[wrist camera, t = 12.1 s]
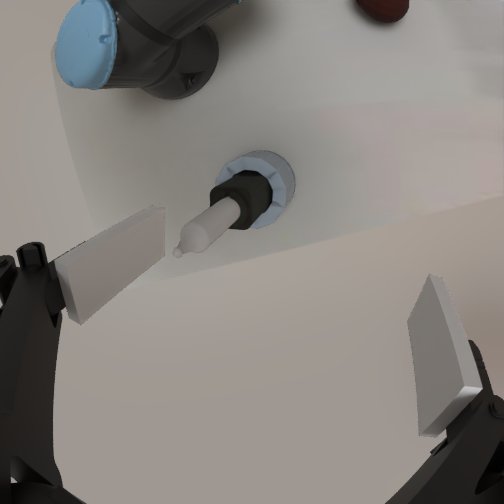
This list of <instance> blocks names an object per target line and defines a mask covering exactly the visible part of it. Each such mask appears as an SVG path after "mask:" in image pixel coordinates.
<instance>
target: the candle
mask: <svg viewBox="0 0 504 504" xmlns="http://www.w3.org/2000/svg"><path fill="white" fill-rule="evenodd" d="M272 201H273V189H272V187H271V185H270V183H269V181H268V179H267V178H266V177H265V176H263V175H262V174H260V173H259V172H258V171H253V170H245V171H243V172H241V173H239V174H238V175H236V176H234V177H232V178H230V179H228V180H227V181H225V182H223V183H221V184H220V185H218V186H216V187H214V188H213V189H212V190H211V192H210V208H208V209H207V210H205V211H204V212H203V213H201V214H200V215H198V216H197V217H196V218H194V219H193V220H191V221H190V222H189V223H187V224H186V225H185V226H184V227H183V228H182V230H181V240H180V242H179V244H178V247H177V248H174V249H173V255H174V256H175V257H177V258H179V257H181V256H182V254H184V253H187V252H194V253H200V252H203V251H205V250H206V249H207V248H208V247H209V246H210V245H211V244H212V243H213V242H214V241H215V240H216V239H217V238H219V237H220V236H221V235H222V234H223V233H224V232H225V231H226V230H227V229H238V230H246V229H248V228H250V227H251V225H252V224H253V223H254V222H255V221H256V220H257V219H258V217H259V216H260V215H261V214H262V213H263V212H264V211H265V210H266V208H267V207H268V206H269V205H270V204H271V203H272Z"/></svg>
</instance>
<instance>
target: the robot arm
mask: <svg viewBox="0 0 504 504" xmlns="http://www.w3.org/2000/svg"><path fill="white" fill-rule="evenodd" d="M241 2H242V0H81V1H79V2H78V3H77V4H76V5H75V6H74V7H73V8H72V9H71V10H70V11H69V13H68V14H67V15H66V17H65V19H64V21H63V23H62V25H61V27H60V30H59V33H58V37H57V41H56V50H55V58H56V65H57V69H58V72H59V74H60V76H61V78H62V79H63V81H64V82H65V83H67V84H68V85H69V86H71V87H74V88H88V89H92V90H97V89H107V88H141V89H143V90H144V91H146V92H148V93H149V94H151V95H153V96H155V97H159V98H163V99H179V98H183V97H187V96H189V95H191V94H193V93H195V92H196V91H198V90H199V89H200V88H201V87H203V86H204V85H205V84H206V82H207V81H208V80H209V79H210V77H211V75H212V74H213V72H214V70H215V67H216V64H217V60H218V43H217V40H216V37H215V35H214V33H213V32H212V30H211V29H210V28H209V27H208V26H207V25H205V24H204V23H206V22H207V21H209V20H210V19H212V18H213V17H215V16H216V15H218V14H220V13H221V12H223V11H224V10H226V9H228V8H229V7H231V6H232V5H234V4H236V3H237V4H239V3H241ZM164 214H165V208H162V207H158V206H153V205H152V206H150V207H148V208H146V209H144V210H142V211H140V212H139V213H137V214H135V215H133V216H131V217H129V218H127V219H125V220H123V221H121V222H120V223H118V224H116V225H114V226H112V227H110V228H109V229H107V230H105V231H103V232H101V233H100V234H98V235H96V236H94V237H93V238H91V239H89V240H87V241H84V242H83V243H81V244H79V245H78V246H77V247H74V248H72V249H71V250H70V251H67V252H66V253H64V254H62V255H61V256H59V257H57V258H56V259H54V260H53V261H51V262H49V263H48V261H47V257H46V252H45V247H44V245H43V244H42V243H40V242H31V243H27V244H25V245H23V246H21V247H20V248H18V249H17V251H16V252H17V256H18V260H19V264H20V267H16V264H15V260H14V258H13V257H12V256H10V255H6V256H5V255H3V256H0V299H1V302H2V304H3V305H2V307H1V308H0V504H86V503H85V502H83V501H81V500H80V499H78V498H77V497H76V496H74V495H73V494H71V493H70V492H68V491H67V490H66V489H64V488H63V484H62V479H61V475H60V472H59V470H58V468H57V466H56V464H55V460H54V454H53V399H54V383H55V370H56V360H57V352H58V344H59V336H60V330H61V323H62V313H61V310H62V309H63V308H65V307H66V309H67V312H68V316H69V318H70V319H72V320H74V321H75V322H77V323H79V324H80V325H82V324H83V323H84V322H85V321H86V320H87V319H88V318H90V317H91V316H92V315H93V314H94V313H95V312H96V311H98V310H99V309H100V308H101V307H102V306H104V305H105V304H106V303H107V302H108V301H110V300H111V299H112V298H113V297H114V296H116V295H117V294H118V293H119V292H120V291H122V290H123V289H124V288H125V287H126V286H128V285H129V284H130V283H131V282H133V281H134V280H135V279H136V278H137V277H139V276H140V275H141V274H142V273H144V272H145V271H146V270H147V269H149V268H150V267H151V266H152V265H154V264H155V263H156V262H157V261H159V260H160V259H161V258H162V257H164V256H165V226H164ZM407 323H408V329H409V336H410V342H411V348H412V356H413V364H414V372H415V382H416V393H417V407H418V424H419V425H418V427H419V436H424V437H437V436H438V435H439V434H440V433H441V432H443V431H444V430H445V429H446V433H447V438H445V439H444V440H443V441H442V442H441V443H440V444H439V445H438V446H436V447H435V448H434V449H433V450H432V451H431V452H430V453H431V454H432V455H431V456H430V457H429V458H428V459H427V460H426V462H425V463H424V464H423V465H422V466H421V467H420V468H419V470H418V471H417V472H416V473H415V474H414V475H413V476H412V477H411V478H410V480H409V481H408V482H407V483H406V484H405V485H404V486H403V487H402V488H401V489H400V490H399V491H398V492H397V493H396V494H395V495H394V496H393V497H392V498H391V499H390V500H388V501H387V502H386V503H385V504H504V400H503V399H502V398H500V397H499V396H497V395H494V394H493V391H492V388H491V384H490V381H489V377H488V374H487V371H486V369H485V365H484V362H483V361H482V360H483V359H482V356H481V353H480V351H479V349H478V347H477V346H476V345H475V344H474V342H473V341H472V340H468V339H467V336H466V333H465V331H464V328H463V325H462V323H461V320H460V318H459V315H458V313H457V310H456V308H455V305H454V303H453V300H452V298H451V296H450V294H449V291H448V289H447V287H446V284H445V282H444V280H443V278H441V277H438V276H434V275H431V274H429V275H428V277H427V280H426V282H425V284H424V287H423V289H422V291H421V293H420V295H419V298H418V300H417V302H416V304H415V306H414V308H413V310H412V312H411V315H410V317H409V319H408V321H407ZM11 477H12V478H14V479H15V480H16V481H17V483H11Z"/></svg>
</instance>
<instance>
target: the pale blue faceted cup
mask: <svg viewBox="0 0 504 504" xmlns="http://www.w3.org/2000/svg"><path fill="white" fill-rule="evenodd" d="M245 170H253V171H258V172H259V173H260V174H262V175H263V176H265V177H266V178H267V179H268V181H269V183H270V185H271V187H272V189H273V201H272V203H271V204H270V205H269V206H268V207H267V208H266V210H265V211H264V212H263V213H262V214H261V215H260V216H259V217H258V219H257V220H256V221H255V222H254V223H253V224H252V225H251V227H250V228H255V229H258V228H261V227H263V226H266V225H269V224H271V223H274V222H275V220H276V219H277V218H278V216H279V215H280V214H281V212H282V211H283V210H284V208H285V207H286V206H287V204H288V203H289V201H290V200H291V198H292V197H293V194H294V190H295V176H294V173H293V170H292V168H291V166H290V165H289V163H288V162H287V161H286V160H285V159H284V158H282V157H281V156H280V155H278V154H276V153H273V152H270V151H254V152H252V153H249V154H247V155H244V156H242V157H240V158H238V159H236V160H234V161H232V162H230V163H228V164H226V165H225V166H224V167H223V169H222V171H221V172H220V174H219V176H218V177H217V179H216V186H218V185H220V184H221V183H223V182H225V181H227V180H228V179H230V178H232V177H234V176H236V175H238V174H239V173H241V172H243V171H245Z"/></svg>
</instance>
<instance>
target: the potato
mask: <svg viewBox="0 0 504 504" xmlns="http://www.w3.org/2000/svg"><path fill="white" fill-rule="evenodd" d="M356 1H357V3H358V4H359V5H360V6H361V7H362V9H363V10H364V11H365V12H366V13H367V14H369V15H370V16H372V17H373V18H375V19H376V20H379V21H382V22H395V21H398V20H400V19H401V18H403V16H404V15H405V14H406V13H407V11H408V8H409V0H356Z"/></svg>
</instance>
